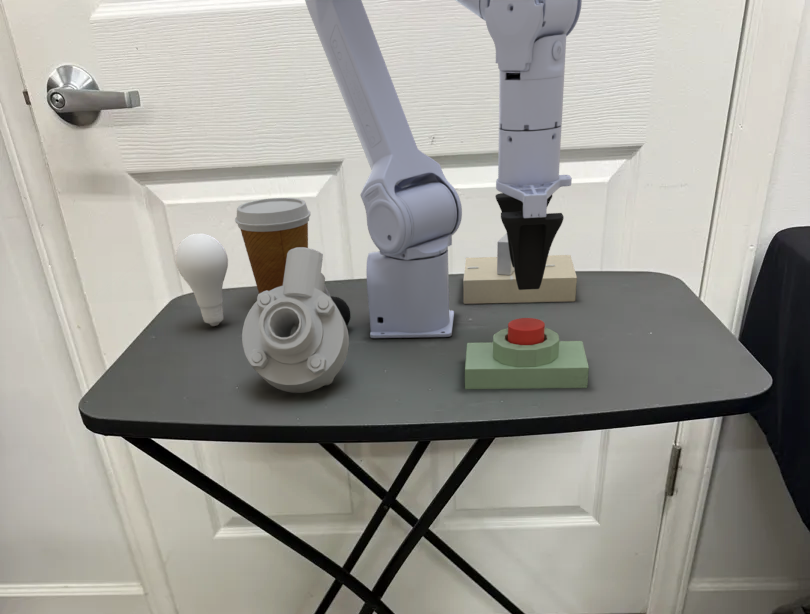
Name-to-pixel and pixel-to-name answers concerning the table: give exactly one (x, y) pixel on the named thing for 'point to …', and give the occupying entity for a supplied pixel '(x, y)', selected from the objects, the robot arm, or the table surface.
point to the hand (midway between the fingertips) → (525, 276)
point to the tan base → (496, 288)
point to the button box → (526, 364)
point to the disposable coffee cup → (272, 236)
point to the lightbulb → (204, 273)
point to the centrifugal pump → (298, 328)
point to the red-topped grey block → (504, 257)
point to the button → (526, 331)
